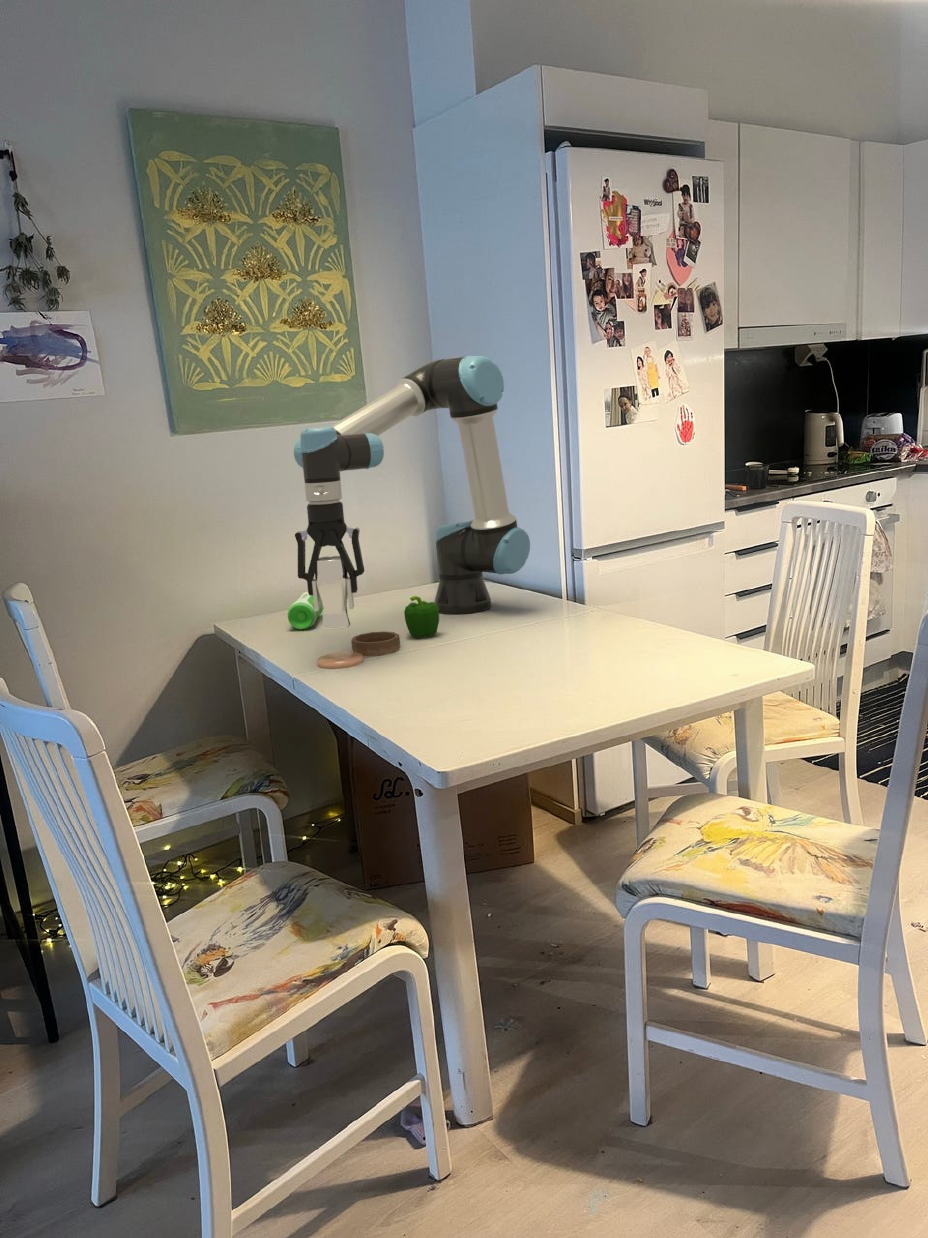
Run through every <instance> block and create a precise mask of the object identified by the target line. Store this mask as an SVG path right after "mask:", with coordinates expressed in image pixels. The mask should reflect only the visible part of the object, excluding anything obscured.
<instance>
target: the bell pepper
mask: <svg viewBox="0 0 928 1238" xmlns="http://www.w3.org/2000/svg"><path fill="white" fill-rule="evenodd" d="M409 599H410V601H411V602H410V603H408V605H406V606H405V608H404V620H405V624H406V627H407V630H408V633H409V635H410V637H412V638H415V639H421V638H425V637H426V638H428V637H429V638H430V637H434V636H436V635H437V632H438V628H439V623H440V613H439V608H438V605H437V603H436V602H432V601H430V602H427V601H425V600H422V599H421V597H419V595H418V596H417V595H414V596H413V595H412V596H411V597H410V598H409ZM414 601H416V602H414Z"/></svg>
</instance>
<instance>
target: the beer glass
mask: <svg viewBox="0 0 928 1238" xmlns="http://www.w3.org/2000/svg"><path fill="white" fill-rule="evenodd" d="M348 577H349V574H348V572H347V570H346V568H345V566H344V561H343V558H341V557H340V555H328V556H321V557H320V556H319V559H318V560H315V574H314V579H315V580H316V587H317V591H318V595H319V598H320V602H321V606H322V622H321V627H322V629H323V630H327V631H328V630H329V631H331V630H342V629H346V628H349V627H350V626H351V622H350V617H349V614H348V592H347V581H346V579H348Z"/></svg>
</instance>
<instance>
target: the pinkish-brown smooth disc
mask: <svg viewBox="0 0 928 1238" xmlns="http://www.w3.org/2000/svg"><path fill="white" fill-rule="evenodd" d="M363 662H364V656H363V655H362V654H360V653H356V652H352V651H341V652H339V651H338V652H334V653H333V652H332V653H328V654H325V655H322V656H319V657H318V658H317V659H316V663H317V664H316V665H317V667H318V668H321V669H330V670H331V669H344V668H350V667H354V666H357V665H360V664H362V663H363Z"/></svg>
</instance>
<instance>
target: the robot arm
mask: <svg viewBox="0 0 928 1238" xmlns="http://www.w3.org/2000/svg"><path fill="white" fill-rule="evenodd" d="M504 389H505V382H504V378H503V373H502V371H501V369H500V368H499V366H498V365H497V363H496V362H494V361H493V360H492V359H491V358H489V357H487V356H485V355H466V356H460V357H453V358H445V359H444V358H442V359H435V360H433V361H431V362H429V363H426V364H425V365H422V366H421V367H419V368H417V369H415V370H414V371H412V372H410V373H409V374H407V375H405V376H404V377H402V378H400V379H399V380H397V382H396V383H395V384H394V387H393V388H392V389H391V390H389V391H387V392H386V393H384V394H382V395H380V396H379V397H377V398H376V399H374V400H372V401H371V402H369V403H368V404H365V405H364V406H362V407H361V408H359V409H357V410H356V411H354V412H353V413H351V414H349V415H347V416H345V417H344V418H342V419H341V420H339V421H338V422H336V423H334V424H332V425H330V426H325V427H324V426H323V427H311V428H303V429H302V430H301V431H300V438H299V439H298V440H297V441H296V442H295V445H294V447H293V457H294V460H295V462H296V464H297V465H298V466H299V467H300V468H301V469H303V470H302V472H303V478H304V479H303V481H304V491H305V500H306V502H307V503H308V504H307V506H306V510H307V511H306V512H307V513H306V514H307V523H308V524H307V528H306V529H304V530H302V531H301V530H300V531H297V532H296V533H294V538H295V541H296V543H297V578H298V579H300V580H305V581H306V584H307V592H308V594H309V595H313V597H314V607H315V611H319V610H320V599H319V595H318V591H317V587H316V580H315V560H318V559H319V558H320V553H321V551H322V548H323V547H328V546H330V547H335V550H337V552H338V554H339V555H338V556H340V557H341V558H343V561H344V566H345V568H346V570H347V572H348V579H346V581H347V592H348V597H347V604H348V609H349V610H353V609H354V607H355V603H354V602H355V601H354V600H355V599H354V594H355V593H357V592H358V581H357V580H358V579H357V577H360V576H361V575H363V574H364V573H365V566H364V565H365V564H364V561H363V557H362V550H361V545H360V540H359V539H360V532H361V531H360V528H359V527H355V528H354V527H350V526H349V527H348V525H347V524H346V522H345V513H344V504H343V502H342V501H340V500H342V498H343V493H342V482H341V472H346V471H355V470H369V469H371V468H376V467H378V466H379V465H380V464H382V461H383V460H384V455H385V450H384V448H385V447H384V444H383V442H382V440H381V438H380V435H381V434H383V433H385V432H387V431H388V430H390V429H392V428H393V427H395V426H397V425H398V424H399V423H401V422H403V421H404V420H406V419H408V418H409V417H411V416H412V417H418V416H420V415H422V414H423V413H426V412H427V411H431V410H437V409H448V410H449V416H450V419H451V420H453V421H454V422H455V423H457V425H458V429H459V435H460V440H461V441H460V442H461V446H462V452H463V457H464V462H465V467H466V473H467V480H468V485H469V490H470V496H471V501H472V507H473V512H474V513H473V514H474V520H473V519H472V520H465V521H460V522H453V523H449V524H444V525H442V524H441V525H440V526H438V527H437V528H436V531H435V548H436V557H437V568H438V586H437V590H436V594H435V598H434V602H436V603H437V605H438V608H439V614H440V613H441V614H445V615H446V614H449V615H450V614H451V615H457V614H458V615H460V614H463V615H464V614H472V613H479V612H483V611H486V610H488V609H490V608H491V607H492V601H491V596H490V593H489V591H488V588H487V585H486V583H485V580H484V576H483V573H490V574H491V573H492V574H498V575H505V574H506V575H509V574H514V573H515V574H516V573H518V572H519V571H520V570H521V569H522V568H523V567H524V566H525V564H526V562H527V560H528V558H529V556H530V552H531V551H530V550H531V549H530V548H531V541H530V536H529V534H528V532H526V531H525V529H523V528H520V527H518V522H517V516H515V515H514V514H513V513H511V512H510V511H509V506H508V499H507V494H506V492H507V491H506V487H505V482H504V475H503V470H502V464H501V457H500V451H499V447H498V441H497V439H498V438H497V434H496V429H495V422H494V416H495V415H496V414H497V411H498V410H499V408H498V403H499V402H500V400H501V399H502V398H503V392H504ZM345 534H348V537H349V538H350V539H351V546H352V550H353V551H352V552H353V556H354V560H355V566H356V569H355V567H354V565H353V563H352V560H351V558H350V557H349V554H348V552H347V549H346V547H345V543H344V542H343V540H342V539H343V538H344V536H346V535H345ZM308 536H309V537H310V538H311V539H312V540H313V543H314V545H313V549H312V554H311V558H310V563H309V566H308V569H307V572H306V541H307V539H308Z"/></svg>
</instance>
